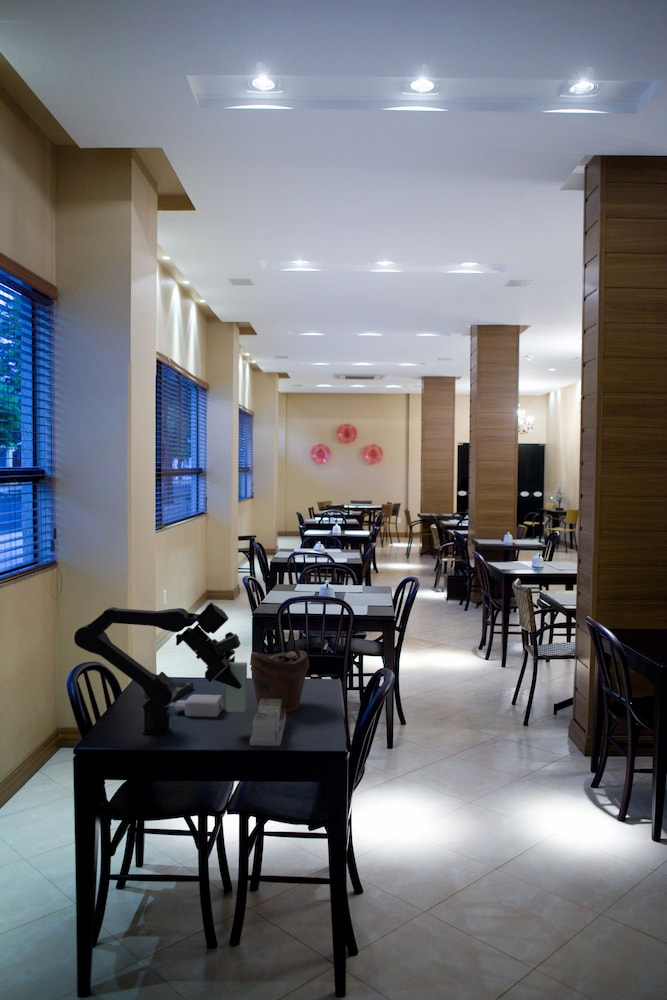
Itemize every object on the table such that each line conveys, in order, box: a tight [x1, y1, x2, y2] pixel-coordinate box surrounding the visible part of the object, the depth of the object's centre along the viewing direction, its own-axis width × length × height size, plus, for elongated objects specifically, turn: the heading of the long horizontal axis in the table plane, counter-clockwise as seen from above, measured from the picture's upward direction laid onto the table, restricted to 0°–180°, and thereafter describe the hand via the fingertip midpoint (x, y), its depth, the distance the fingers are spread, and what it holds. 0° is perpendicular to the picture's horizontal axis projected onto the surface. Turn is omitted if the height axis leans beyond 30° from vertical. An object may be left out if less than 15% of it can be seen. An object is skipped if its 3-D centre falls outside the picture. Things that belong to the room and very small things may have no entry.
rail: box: [249, 699, 287, 747], centre depth 209 cm, size 8×21×6 cm, turn 0°
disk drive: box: [144, 681, 194, 702], centre depth 247 cm, size 10×3×15 cm
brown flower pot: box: [249, 648, 310, 713], centre depth 234 cm, size 18×20×18 cm
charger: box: [168, 693, 223, 718], centre depth 227 cm, size 5×9×15 cm
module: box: [225, 661, 248, 713], centre depth 209 cm, size 5×4×12 cm
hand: (241, 685), depth 209 cm, fingers closed on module, 4 cm apart
